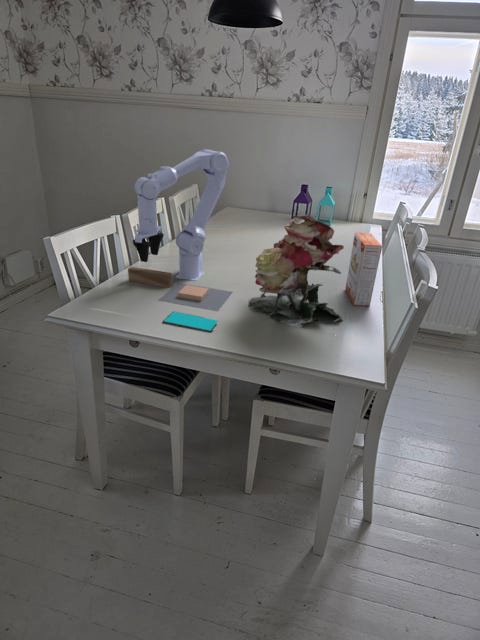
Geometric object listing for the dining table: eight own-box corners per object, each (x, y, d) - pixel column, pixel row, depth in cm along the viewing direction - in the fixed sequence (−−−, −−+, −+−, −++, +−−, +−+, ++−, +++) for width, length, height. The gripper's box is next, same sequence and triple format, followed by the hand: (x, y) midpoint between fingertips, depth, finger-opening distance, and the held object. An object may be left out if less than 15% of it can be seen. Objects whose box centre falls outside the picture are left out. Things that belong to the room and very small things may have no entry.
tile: (186, 284, 141) (209, 288, 140) (186, 289, 142) (208, 293, 140) (178, 292, 135) (201, 296, 133) (178, 297, 136) (201, 301, 134)
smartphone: (211, 331, 117) (162, 321, 121) (211, 333, 118) (162, 323, 121) (220, 320, 124) (173, 311, 127) (220, 322, 124) (173, 313, 127)
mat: (178, 283, 147) (178, 282, 147) (233, 292, 143) (233, 291, 143) (157, 301, 133) (157, 300, 133) (217, 312, 129) (218, 311, 129)
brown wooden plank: (132, 280, 148) (131, 266, 146) (172, 286, 145) (171, 273, 143) (128, 282, 146) (128, 268, 144) (169, 289, 143) (168, 275, 141)
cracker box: (343, 289, 152) (354, 231, 142) (360, 290, 152) (372, 232, 142) (351, 305, 139) (363, 244, 130) (370, 306, 139) (383, 245, 130)
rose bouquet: (291, 286, 151) (302, 201, 137) (351, 320, 130) (371, 223, 116) (230, 299, 138) (235, 206, 124) (286, 339, 117) (299, 232, 103)
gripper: (146, 211, 142) (148, 250, 148) (124, 220, 130) (127, 262, 136) (166, 213, 141) (167, 252, 147) (145, 223, 128) (147, 266, 134)
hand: (149, 257), depth 141 cm, fingers open, 7 cm apart
